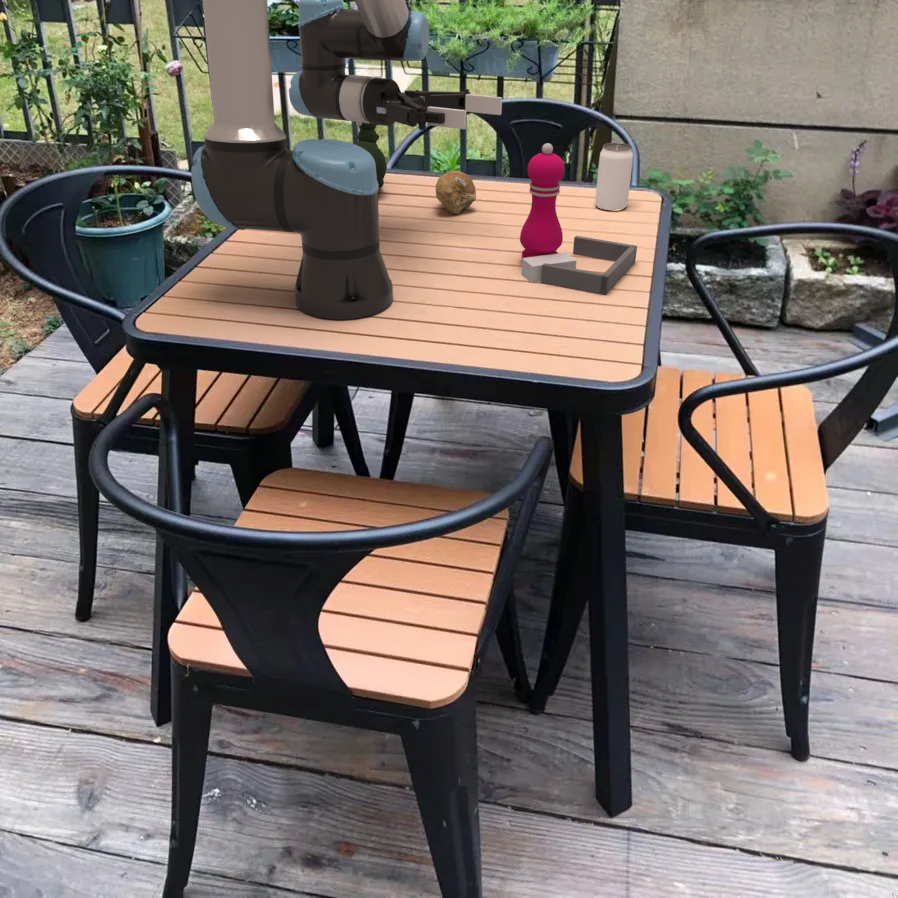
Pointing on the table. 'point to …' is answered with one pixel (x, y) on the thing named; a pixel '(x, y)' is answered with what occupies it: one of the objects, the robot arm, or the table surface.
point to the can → (614, 176)
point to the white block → (534, 264)
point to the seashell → (455, 191)
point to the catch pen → (586, 279)
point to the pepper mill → (543, 205)
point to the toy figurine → (372, 149)
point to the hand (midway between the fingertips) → (483, 112)
